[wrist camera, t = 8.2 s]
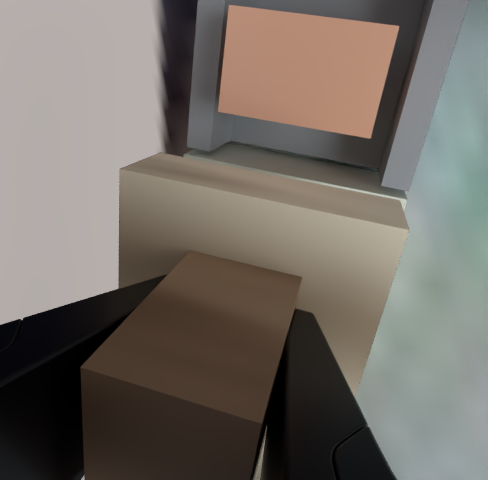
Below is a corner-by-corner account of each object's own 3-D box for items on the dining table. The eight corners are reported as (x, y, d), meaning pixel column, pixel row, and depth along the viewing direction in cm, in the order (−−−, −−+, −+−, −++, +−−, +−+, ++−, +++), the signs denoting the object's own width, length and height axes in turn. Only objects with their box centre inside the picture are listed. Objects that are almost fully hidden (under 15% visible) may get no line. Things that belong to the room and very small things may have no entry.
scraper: (340, 394, 12) (325, 660, 7) (150, 340, 13) (3, 529, 8) (399, 200, 9) (453, 368, 4) (160, 152, 11) (-47, 236, 5)
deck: (351, 334, 17) (349, 382, 15) (198, 293, 19) (170, 330, 16) (399, 175, 15) (407, 199, 12) (214, 140, 16) (183, 154, 13)
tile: (370, 138, 10) (399, 26, 9) (218, 111, 11) (228, 4, 10) (368, 121, 14) (389, 38, 13) (253, 101, 14) (265, 22, 13)
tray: (401, 170, 14) (408, 191, 12) (214, 134, 16) (186, 146, 13) (470, -61, 12) (500, -97, 9) (237, -82, 13) (206, -117, 10)
